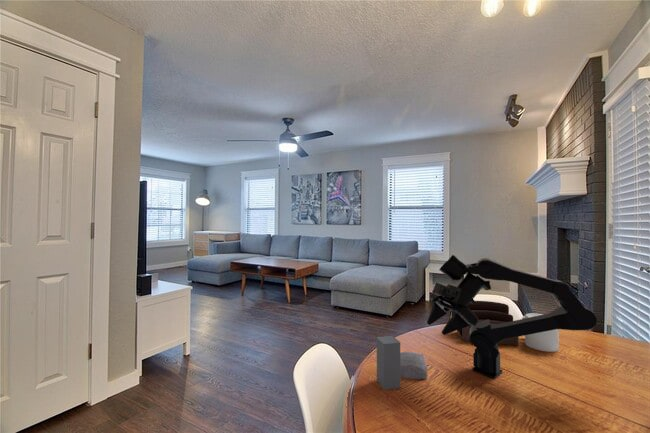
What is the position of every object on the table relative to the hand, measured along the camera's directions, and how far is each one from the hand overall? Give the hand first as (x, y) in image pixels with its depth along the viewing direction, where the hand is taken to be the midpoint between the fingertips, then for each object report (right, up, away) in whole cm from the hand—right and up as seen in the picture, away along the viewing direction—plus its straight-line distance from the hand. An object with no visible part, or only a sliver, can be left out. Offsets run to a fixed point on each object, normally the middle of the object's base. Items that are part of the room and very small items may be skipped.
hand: (435, 328), depth 90 cm
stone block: (-8, -14, +1) cm, 16 cm away
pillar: (-16, -13, -8) cm, 22 cm away
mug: (+47, -14, +20) cm, 53 cm away
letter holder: (+30, -14, +26) cm, 42 cm away
